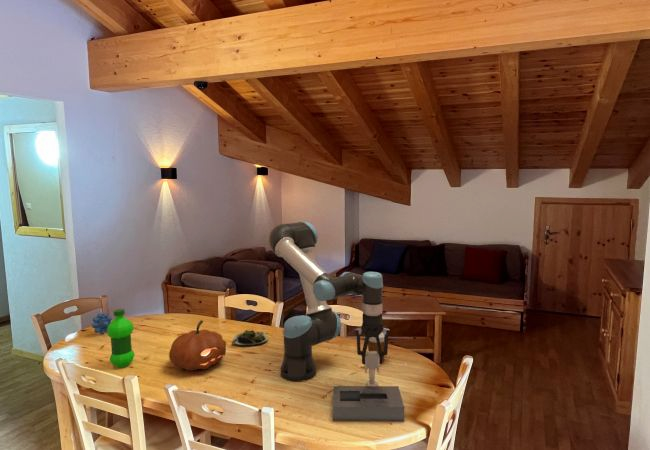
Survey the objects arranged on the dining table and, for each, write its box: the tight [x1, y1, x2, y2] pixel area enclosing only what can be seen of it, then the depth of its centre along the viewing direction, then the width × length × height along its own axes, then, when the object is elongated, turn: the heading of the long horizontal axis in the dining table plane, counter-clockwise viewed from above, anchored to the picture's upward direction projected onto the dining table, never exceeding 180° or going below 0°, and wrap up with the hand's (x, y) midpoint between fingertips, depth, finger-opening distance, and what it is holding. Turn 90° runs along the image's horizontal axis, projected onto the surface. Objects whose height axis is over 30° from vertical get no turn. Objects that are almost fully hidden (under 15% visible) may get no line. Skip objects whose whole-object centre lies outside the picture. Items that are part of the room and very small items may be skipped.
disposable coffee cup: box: [367, 331, 385, 363], centre depth 186 cm, size 10×10×12 cm
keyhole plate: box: [332, 385, 405, 422], centre depth 147 cm, size 24×14×5 cm, turn 88°
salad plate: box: [231, 329, 268, 348], centre depth 212 cm, size 19×18×5 cm
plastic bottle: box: [106, 308, 135, 369], centre depth 183 cm, size 10×10×25 cm
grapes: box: [91, 312, 113, 335], centre depth 221 cm, size 12×7×12 cm, turn 155°
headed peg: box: [364, 350, 379, 386], centre depth 160 cm, size 5×5×14 cm
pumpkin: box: [168, 319, 227, 371], centre depth 183 cm, size 25×25×19 cm
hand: (372, 371), depth 161 cm, fingers closed on headed peg, 4 cm apart
